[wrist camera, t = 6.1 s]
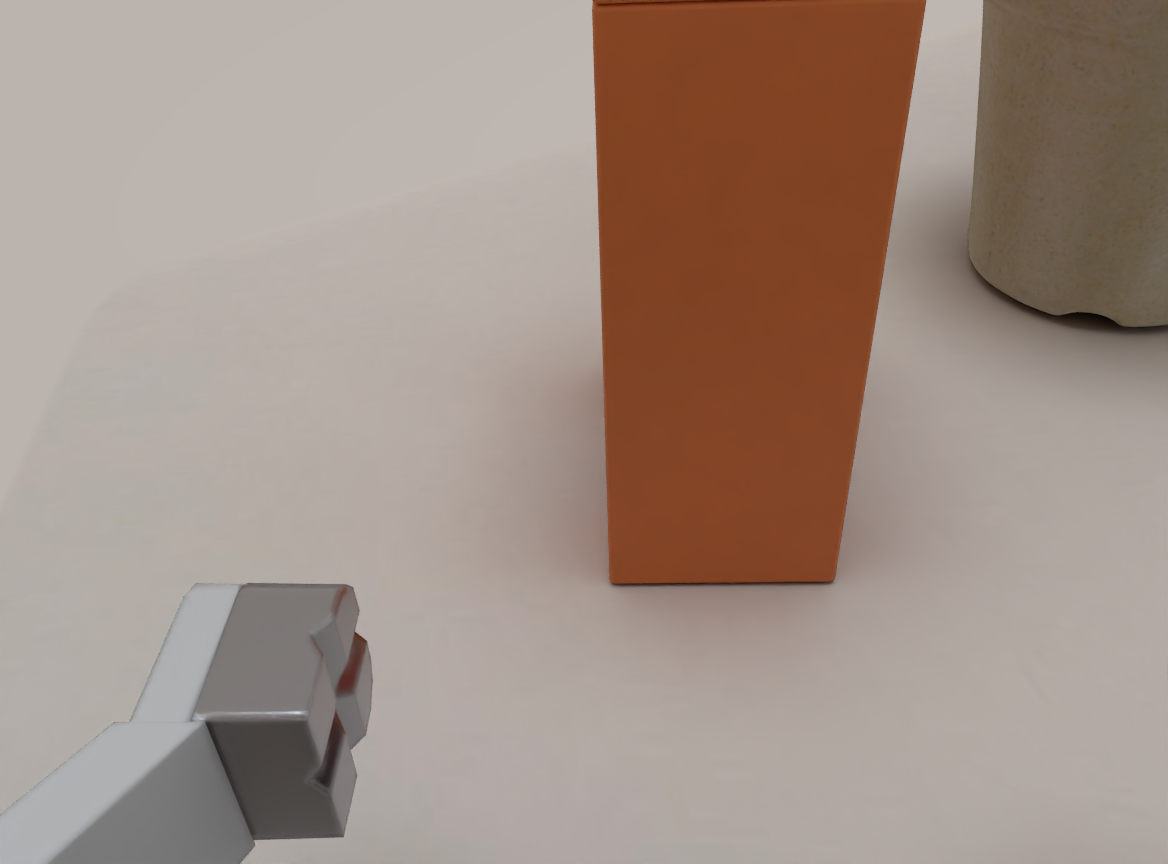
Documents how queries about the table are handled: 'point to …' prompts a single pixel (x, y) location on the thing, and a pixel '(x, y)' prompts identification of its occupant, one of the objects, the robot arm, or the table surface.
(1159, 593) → the table surface
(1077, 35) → the flower pot
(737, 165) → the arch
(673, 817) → the table surface
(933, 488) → the table surface
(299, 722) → the robot arm
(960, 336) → the table surface
